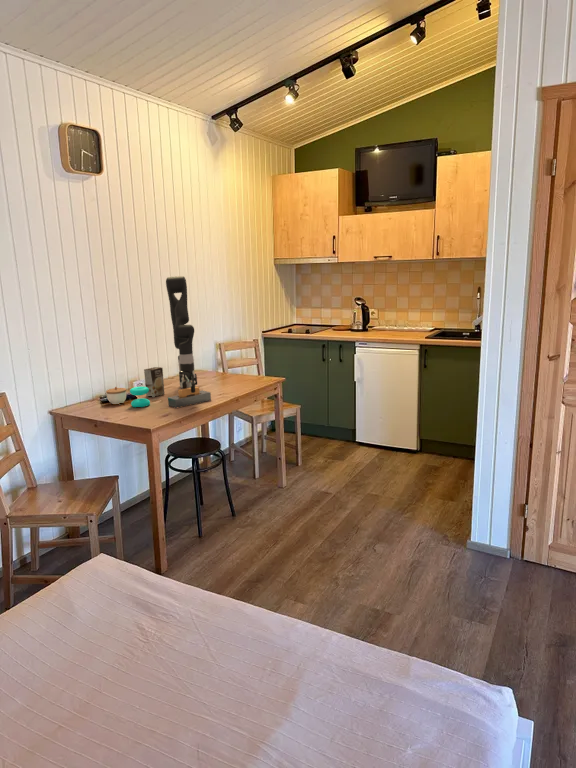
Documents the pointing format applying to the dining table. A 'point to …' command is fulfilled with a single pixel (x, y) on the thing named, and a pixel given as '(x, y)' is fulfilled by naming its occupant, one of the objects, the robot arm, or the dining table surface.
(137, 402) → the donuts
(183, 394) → the long orange brick
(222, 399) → the dining table surface
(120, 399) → the lidded jar
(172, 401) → the grey slotted block
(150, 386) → the coffee box
